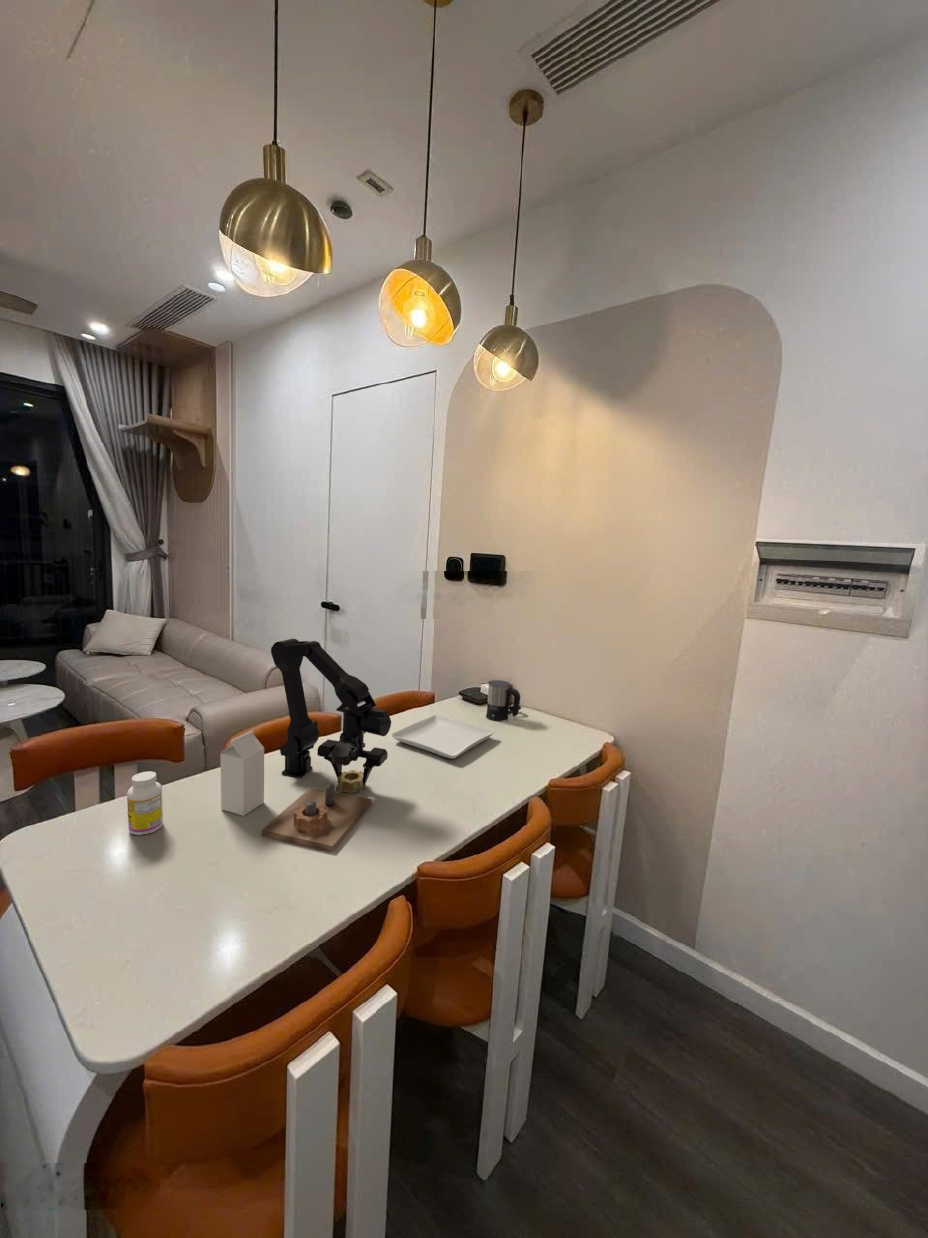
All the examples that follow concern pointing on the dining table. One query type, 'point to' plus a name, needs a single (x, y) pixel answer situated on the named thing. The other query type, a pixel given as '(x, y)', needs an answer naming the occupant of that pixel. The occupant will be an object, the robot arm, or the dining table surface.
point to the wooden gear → (350, 781)
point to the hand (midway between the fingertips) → (351, 781)
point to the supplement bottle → (144, 804)
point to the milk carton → (242, 775)
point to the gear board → (318, 818)
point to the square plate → (442, 736)
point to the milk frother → (501, 700)
